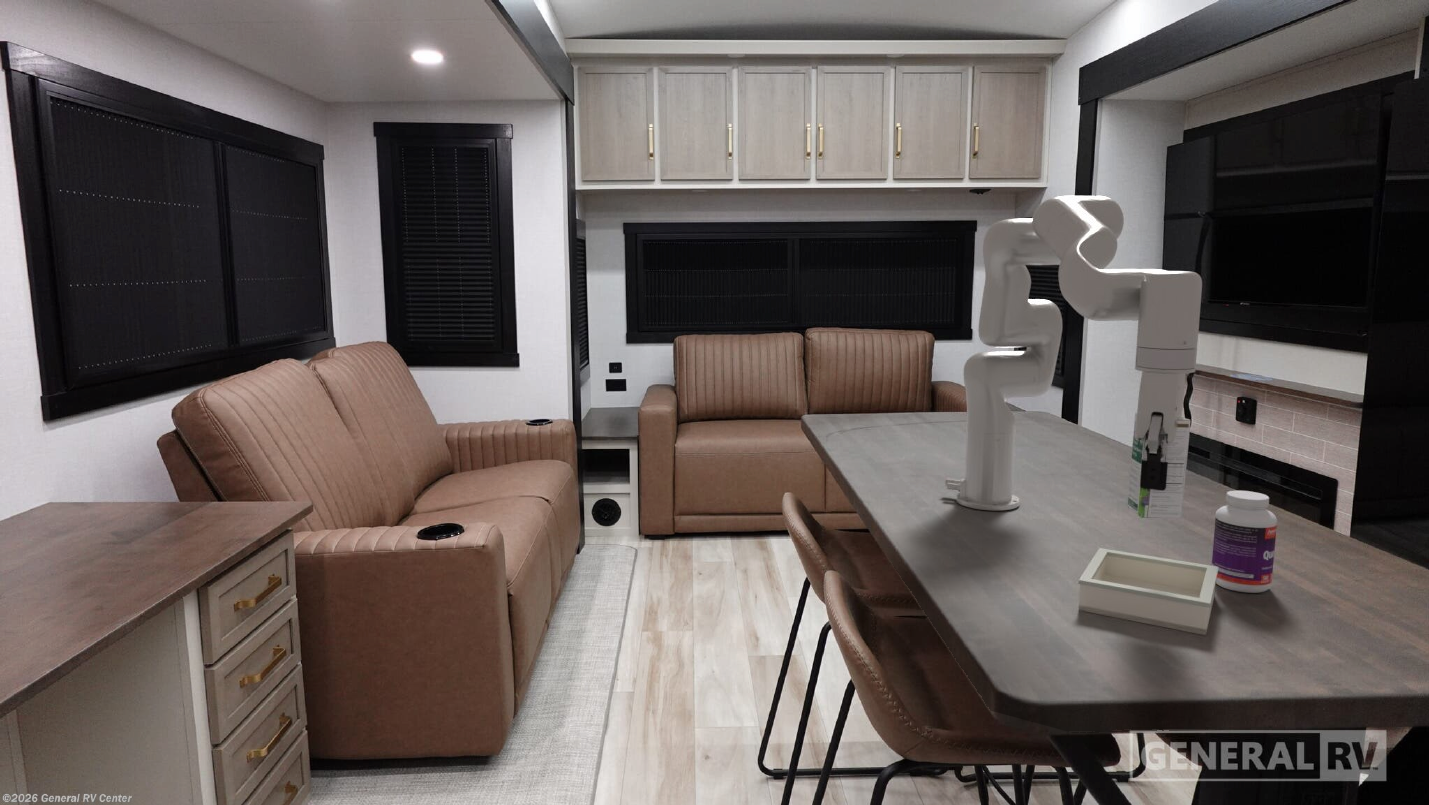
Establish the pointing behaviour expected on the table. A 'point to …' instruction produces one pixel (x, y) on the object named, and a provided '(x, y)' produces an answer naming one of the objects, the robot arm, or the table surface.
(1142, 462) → the robot arm
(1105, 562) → the bin
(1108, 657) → the table surface
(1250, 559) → the pill bottle
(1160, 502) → the syrup box
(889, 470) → the table surface
